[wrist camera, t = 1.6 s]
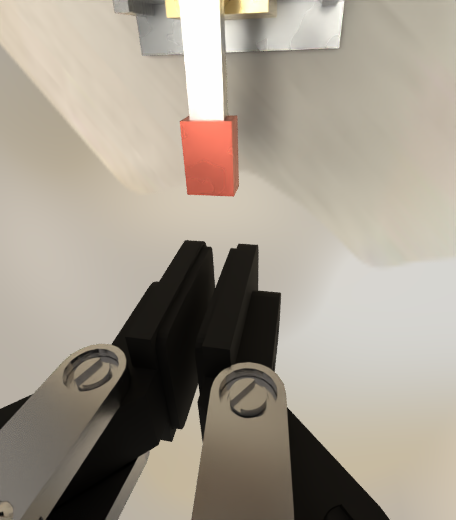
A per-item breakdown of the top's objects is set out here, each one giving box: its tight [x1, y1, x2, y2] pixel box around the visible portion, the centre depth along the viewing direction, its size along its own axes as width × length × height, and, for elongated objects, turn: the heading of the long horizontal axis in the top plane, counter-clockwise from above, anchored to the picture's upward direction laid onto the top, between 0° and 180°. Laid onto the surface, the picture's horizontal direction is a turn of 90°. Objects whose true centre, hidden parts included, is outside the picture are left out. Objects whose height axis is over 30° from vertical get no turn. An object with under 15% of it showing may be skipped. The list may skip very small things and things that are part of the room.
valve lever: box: [179, 0, 239, 196], centre depth 19 cm, size 14×3×2 cm, turn 2°
